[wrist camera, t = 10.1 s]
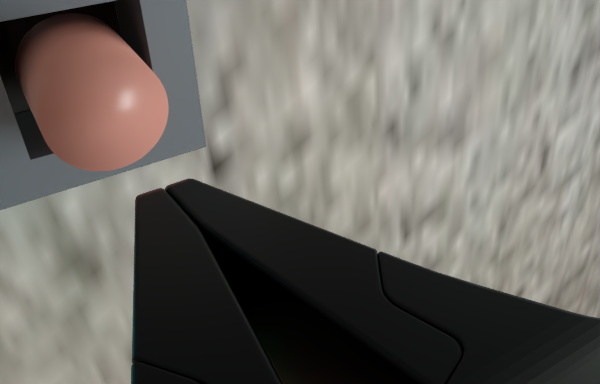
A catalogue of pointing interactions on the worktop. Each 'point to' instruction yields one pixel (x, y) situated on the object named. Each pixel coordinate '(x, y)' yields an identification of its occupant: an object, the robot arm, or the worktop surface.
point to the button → (90, 92)
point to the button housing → (156, 55)
